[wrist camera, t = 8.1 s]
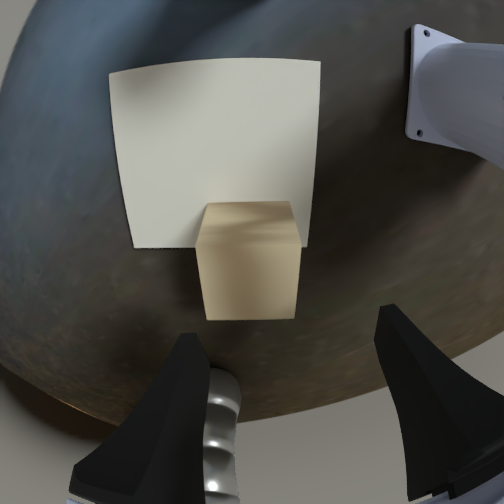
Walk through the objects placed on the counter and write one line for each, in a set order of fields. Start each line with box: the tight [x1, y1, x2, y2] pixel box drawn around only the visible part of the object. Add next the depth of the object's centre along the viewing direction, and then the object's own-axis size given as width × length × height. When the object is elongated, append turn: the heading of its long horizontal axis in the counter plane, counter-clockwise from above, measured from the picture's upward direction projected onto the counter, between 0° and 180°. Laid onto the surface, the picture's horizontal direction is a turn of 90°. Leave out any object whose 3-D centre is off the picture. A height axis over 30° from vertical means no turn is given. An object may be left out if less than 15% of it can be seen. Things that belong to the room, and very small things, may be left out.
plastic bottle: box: [203, 367, 242, 504], centre depth 21 cm, size 6×7×20 cm
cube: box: [195, 201, 302, 320], centre depth 17 cm, size 5×5×5 cm
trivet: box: [109, 58, 320, 248], centre depth 17 cm, size 12×12×1 cm
